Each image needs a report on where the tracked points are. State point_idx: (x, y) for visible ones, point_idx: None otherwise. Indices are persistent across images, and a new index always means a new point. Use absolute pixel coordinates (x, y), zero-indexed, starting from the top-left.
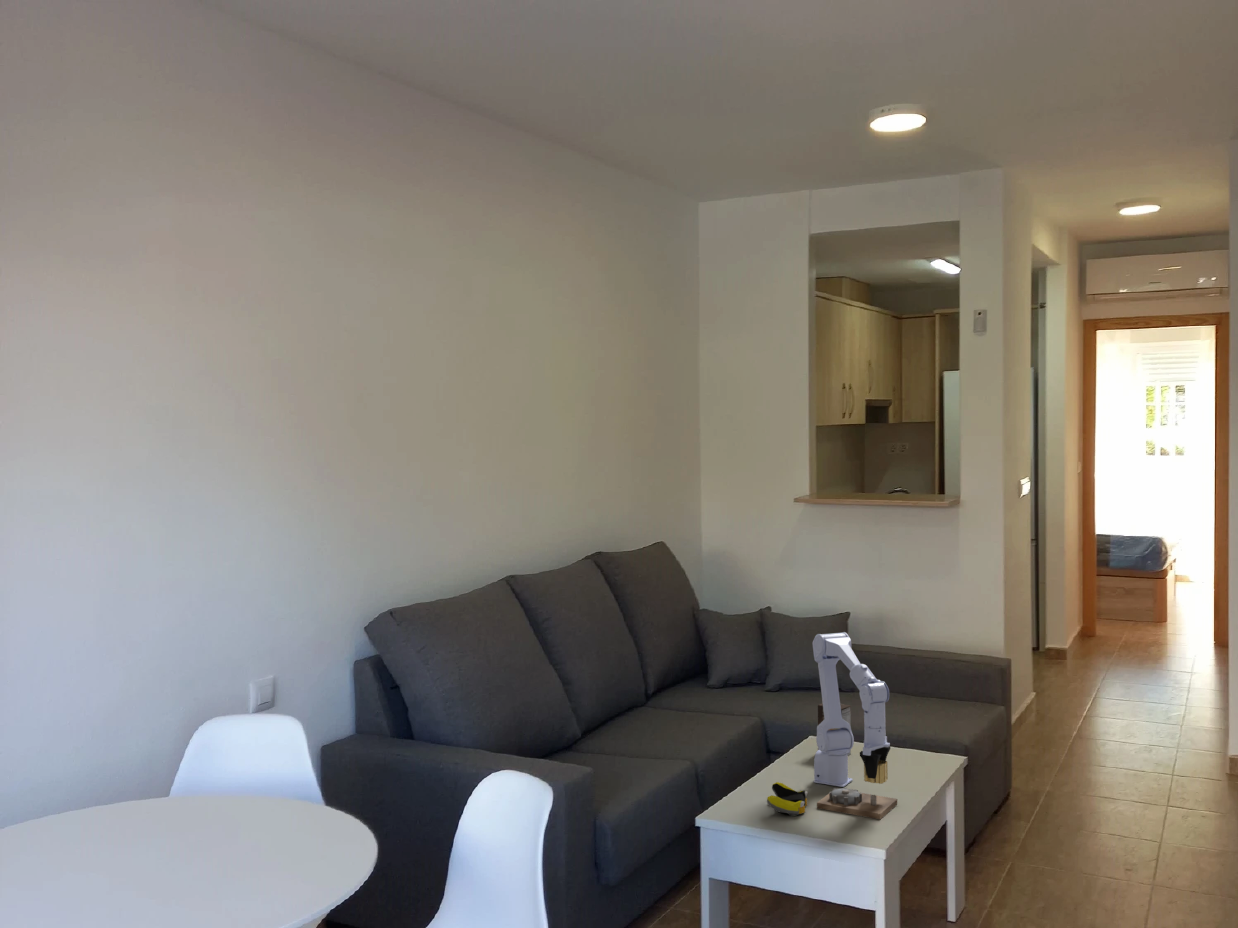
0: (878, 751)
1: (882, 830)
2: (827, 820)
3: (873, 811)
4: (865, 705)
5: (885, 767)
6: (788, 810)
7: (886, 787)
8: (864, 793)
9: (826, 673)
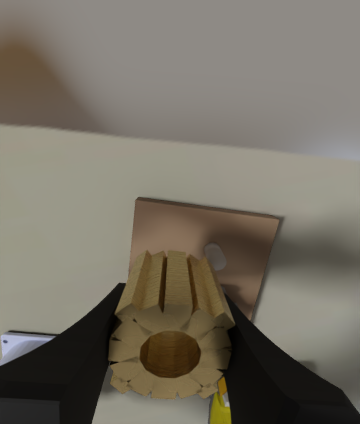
0: (84, 414)
1: (349, 195)
2: (306, 314)
3: (265, 239)
4: None
5: (179, 287)
6: None
7: (11, 249)
8: None
9: None
